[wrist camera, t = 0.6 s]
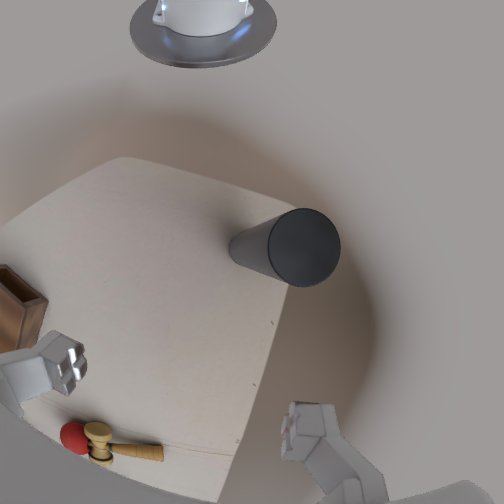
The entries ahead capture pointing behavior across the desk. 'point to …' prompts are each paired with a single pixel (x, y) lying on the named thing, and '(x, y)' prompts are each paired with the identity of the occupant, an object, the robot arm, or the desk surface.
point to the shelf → (19, 312)
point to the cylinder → (290, 247)
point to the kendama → (103, 443)
